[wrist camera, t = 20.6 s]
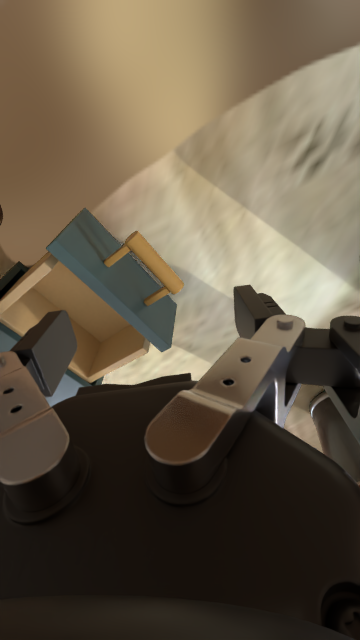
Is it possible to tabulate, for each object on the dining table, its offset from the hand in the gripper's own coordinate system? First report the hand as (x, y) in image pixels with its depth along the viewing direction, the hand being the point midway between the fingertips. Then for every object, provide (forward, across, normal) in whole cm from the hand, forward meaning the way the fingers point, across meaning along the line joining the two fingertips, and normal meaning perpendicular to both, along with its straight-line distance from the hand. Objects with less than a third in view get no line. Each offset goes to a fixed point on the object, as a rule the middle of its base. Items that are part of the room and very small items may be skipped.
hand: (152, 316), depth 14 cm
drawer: (+17, +6, +3) cm, 18 cm away
